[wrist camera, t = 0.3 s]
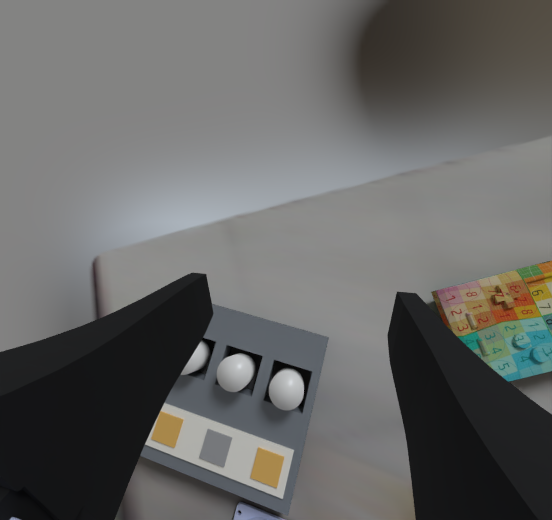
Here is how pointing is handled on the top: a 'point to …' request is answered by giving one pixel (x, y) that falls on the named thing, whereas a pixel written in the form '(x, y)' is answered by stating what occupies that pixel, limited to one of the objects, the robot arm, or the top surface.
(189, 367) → the button
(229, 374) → the button middle
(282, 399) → the button
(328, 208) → the top surface
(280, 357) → the board
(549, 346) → the puzzle game
